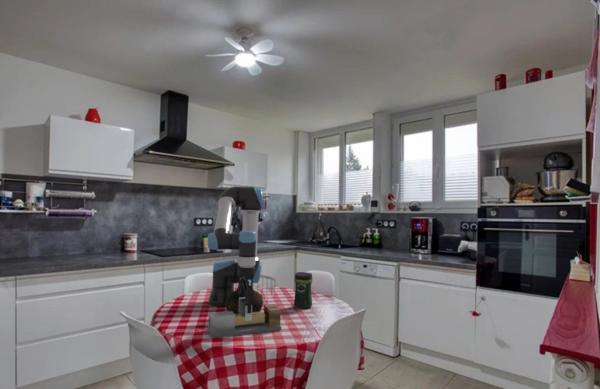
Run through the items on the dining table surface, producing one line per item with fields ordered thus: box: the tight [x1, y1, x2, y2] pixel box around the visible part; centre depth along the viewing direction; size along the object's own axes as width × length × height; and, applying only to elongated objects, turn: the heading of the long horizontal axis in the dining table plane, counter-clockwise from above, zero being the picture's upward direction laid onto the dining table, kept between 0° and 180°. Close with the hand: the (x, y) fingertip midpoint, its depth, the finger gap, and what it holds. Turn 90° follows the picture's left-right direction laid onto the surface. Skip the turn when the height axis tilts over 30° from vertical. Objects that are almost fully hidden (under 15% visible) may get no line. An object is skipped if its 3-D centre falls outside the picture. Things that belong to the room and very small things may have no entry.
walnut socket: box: [263, 303, 282, 327], centre depth 153 cm, size 9×5×7 cm, turn 23°
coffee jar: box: [293, 271, 313, 309], centre depth 185 cm, size 10×8×19 cm
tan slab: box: [235, 299, 265, 326], centre depth 148 cm, size 6×21×10 cm, turn 113°
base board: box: [206, 322, 282, 339], centre depth 148 cm, size 12×30×2 cm, turn 113°
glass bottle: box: [225, 277, 264, 314], centre depth 167 cm, size 18×18×28 cm
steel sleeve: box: [207, 310, 235, 332], centre depth 145 cm, size 6×10×6 cm, turn 113°
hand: (244, 316), depth 149 cm, fingers open, 12 cm apart
